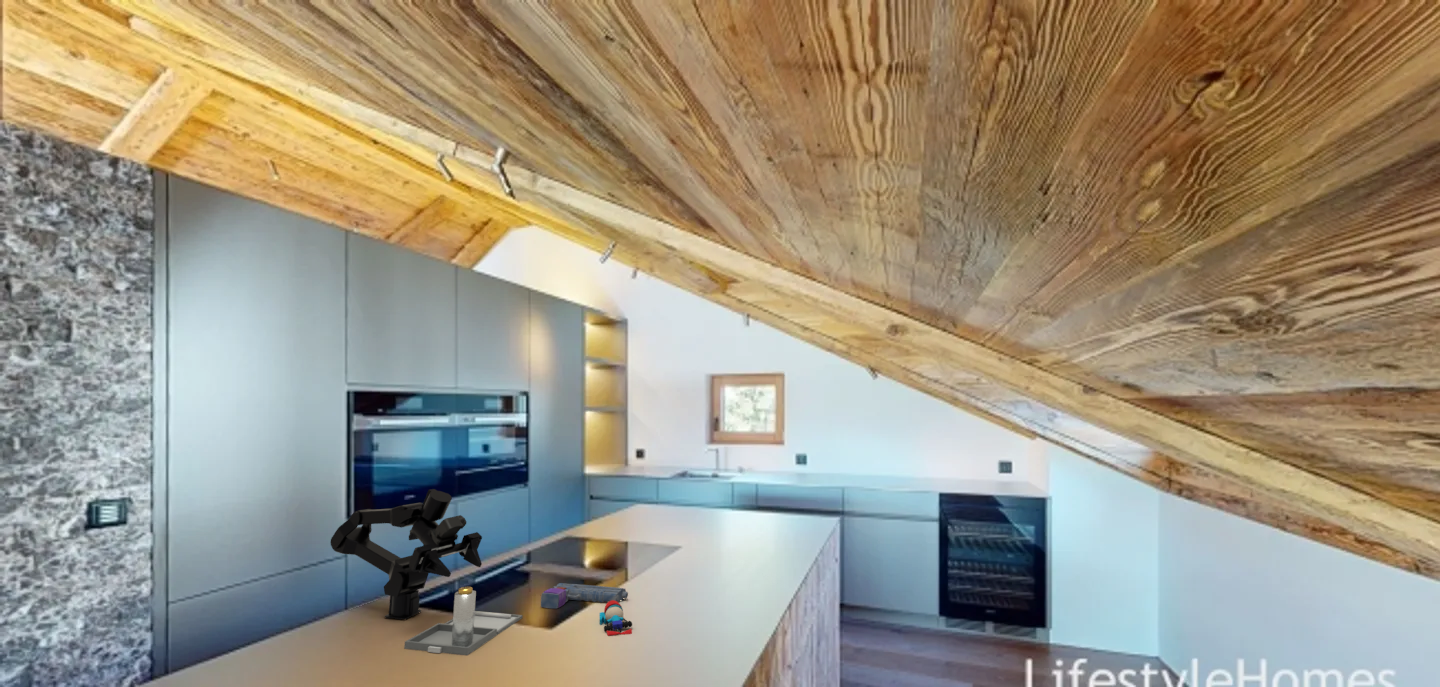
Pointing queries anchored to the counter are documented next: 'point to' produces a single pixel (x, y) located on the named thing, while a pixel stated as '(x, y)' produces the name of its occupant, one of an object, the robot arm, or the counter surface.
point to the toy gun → (580, 594)
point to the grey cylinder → (463, 617)
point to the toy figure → (614, 619)
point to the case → (448, 640)
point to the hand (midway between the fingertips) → (465, 570)
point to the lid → (493, 620)
